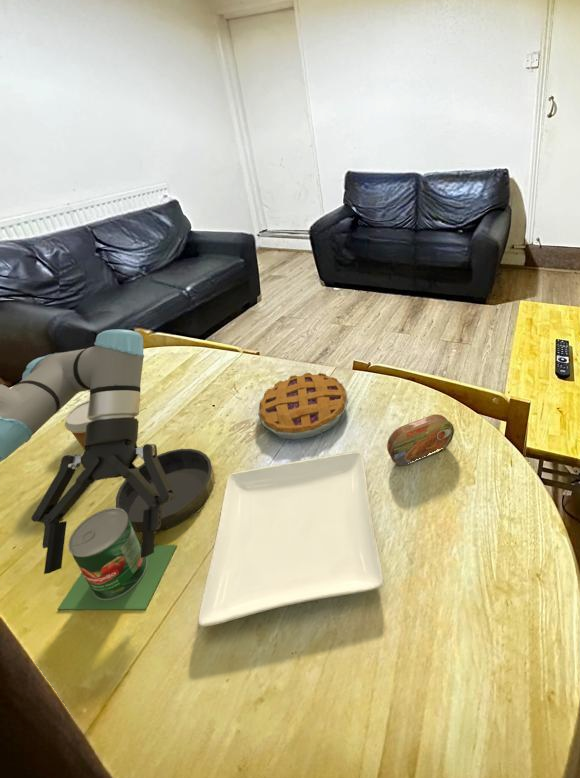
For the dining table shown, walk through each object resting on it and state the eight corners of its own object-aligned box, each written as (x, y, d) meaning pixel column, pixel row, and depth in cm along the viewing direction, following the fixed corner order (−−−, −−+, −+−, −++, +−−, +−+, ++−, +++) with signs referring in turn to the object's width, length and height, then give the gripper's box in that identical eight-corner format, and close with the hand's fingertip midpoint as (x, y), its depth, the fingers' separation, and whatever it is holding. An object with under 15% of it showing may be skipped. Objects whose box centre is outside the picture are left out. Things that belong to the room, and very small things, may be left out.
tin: (392, 471, 85) (390, 440, 82) (386, 460, 88) (384, 430, 84) (454, 446, 90) (455, 416, 87) (446, 437, 93) (447, 407, 89)
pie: (336, 376, 116) (334, 361, 113) (360, 428, 97) (358, 411, 95) (256, 397, 109) (253, 381, 107) (265, 456, 90) (261, 439, 88)
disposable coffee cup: (77, 474, 88) (56, 431, 83) (88, 444, 96) (69, 403, 91) (127, 460, 91) (110, 417, 86) (134, 431, 99) (118, 391, 94)
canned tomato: (145, 542, 73) (126, 499, 68) (149, 581, 67) (129, 536, 62) (92, 568, 69) (69, 524, 65) (92, 612, 63) (66, 566, 59)
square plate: (363, 461, 88) (361, 447, 86) (385, 600, 63) (384, 584, 61) (231, 484, 84) (227, 470, 82) (200, 641, 59) (194, 625, 58)
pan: (99, 533, 75) (94, 522, 74) (150, 459, 91) (146, 449, 90) (192, 533, 75) (188, 521, 73) (227, 458, 90) (224, 447, 89)
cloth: (57, 610, 64) (57, 608, 64) (99, 546, 73) (99, 545, 73) (145, 609, 63) (145, 608, 63) (177, 546, 72) (176, 544, 72)
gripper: (196, 411, 76) (193, 543, 68) (49, 430, 73) (29, 571, 65) (181, 407, 69) (176, 554, 61) (17, 429, 66) (-9, 585, 58)
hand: (100, 563), depth 63 cm, fingers open, 13 cm apart
